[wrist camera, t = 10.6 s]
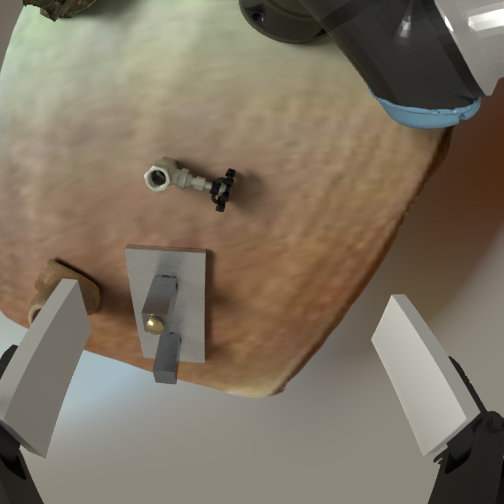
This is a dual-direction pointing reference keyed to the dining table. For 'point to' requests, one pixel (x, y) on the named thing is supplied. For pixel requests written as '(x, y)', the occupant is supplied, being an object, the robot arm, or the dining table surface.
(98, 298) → the stone cup
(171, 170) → the valve
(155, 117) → the dining table surface
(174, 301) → the block
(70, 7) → the rock
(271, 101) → the dining table surface
